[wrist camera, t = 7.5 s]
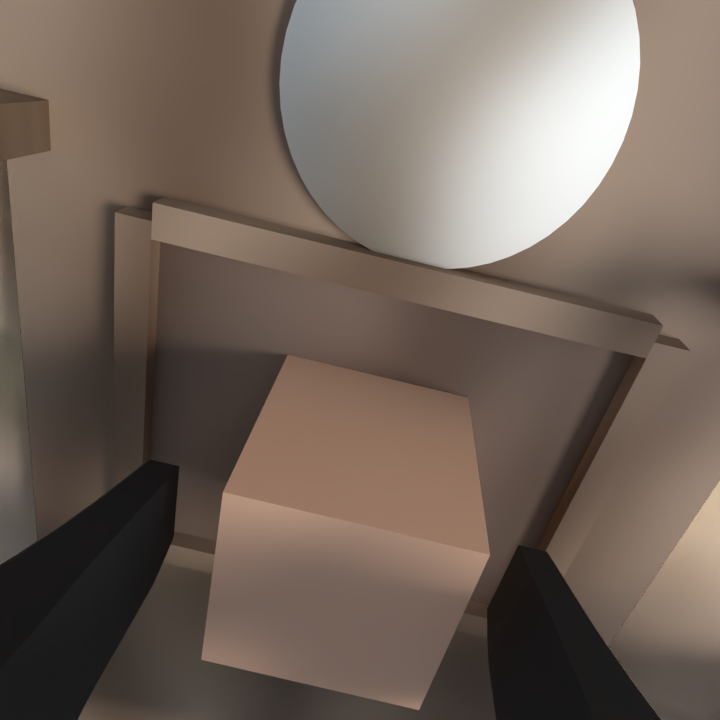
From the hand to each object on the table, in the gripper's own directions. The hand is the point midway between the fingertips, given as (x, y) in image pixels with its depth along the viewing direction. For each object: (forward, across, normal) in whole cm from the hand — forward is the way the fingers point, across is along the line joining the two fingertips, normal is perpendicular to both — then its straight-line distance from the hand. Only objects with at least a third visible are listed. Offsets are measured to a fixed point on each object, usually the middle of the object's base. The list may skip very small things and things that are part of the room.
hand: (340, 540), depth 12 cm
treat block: (+3, 0, 0) cm, 3 cm away
